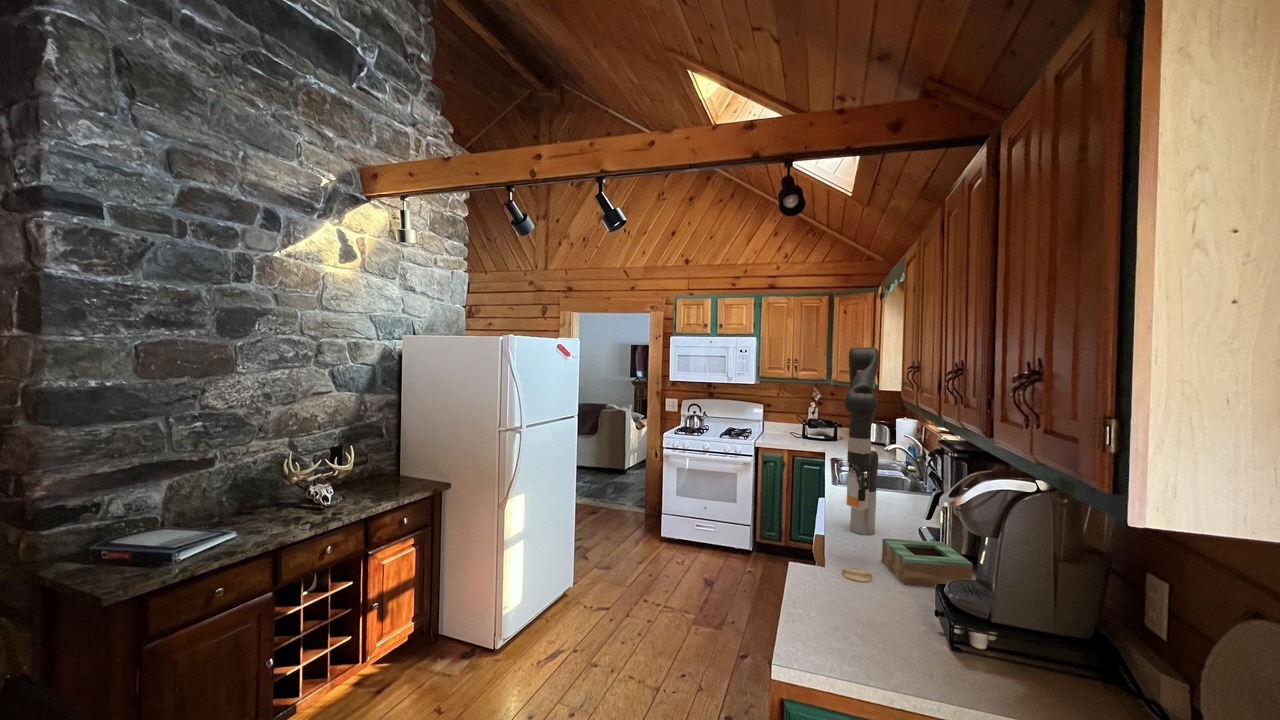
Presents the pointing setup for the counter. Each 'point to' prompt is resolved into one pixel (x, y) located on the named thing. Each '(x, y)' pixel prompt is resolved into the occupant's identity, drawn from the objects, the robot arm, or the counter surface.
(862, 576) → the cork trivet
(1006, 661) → the counter surface
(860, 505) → the skincare box
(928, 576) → the caddy
